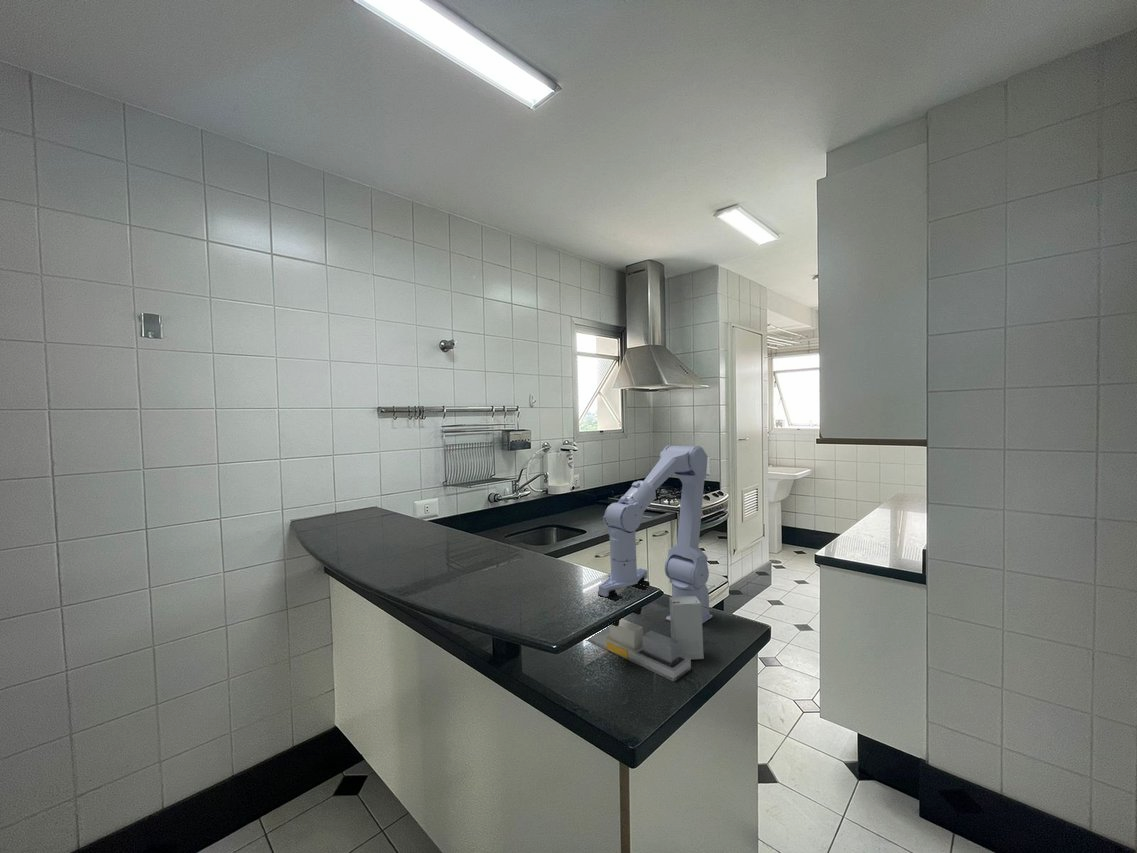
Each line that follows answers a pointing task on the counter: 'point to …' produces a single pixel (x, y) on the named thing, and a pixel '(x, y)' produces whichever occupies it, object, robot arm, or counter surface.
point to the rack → (649, 653)
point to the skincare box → (687, 625)
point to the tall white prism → (627, 634)
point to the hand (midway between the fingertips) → (625, 618)
